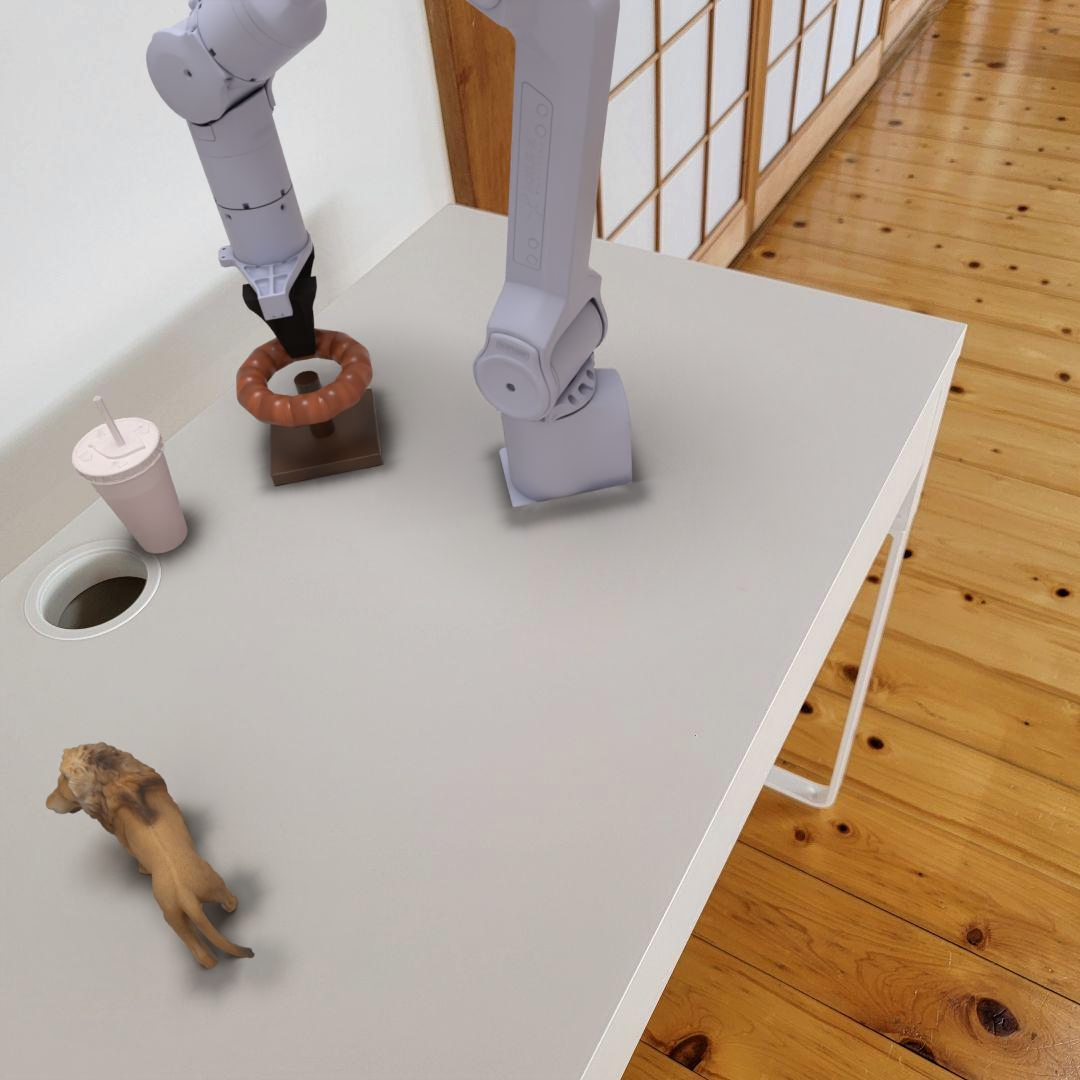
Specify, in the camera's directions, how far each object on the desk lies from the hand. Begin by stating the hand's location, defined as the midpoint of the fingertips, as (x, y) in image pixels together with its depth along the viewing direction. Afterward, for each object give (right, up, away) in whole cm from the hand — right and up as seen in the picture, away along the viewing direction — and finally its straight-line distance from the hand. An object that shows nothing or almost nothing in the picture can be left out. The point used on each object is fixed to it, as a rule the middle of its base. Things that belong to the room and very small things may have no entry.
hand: (302, 343), depth 83 cm
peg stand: (+1, -8, +2) cm, 8 cm away
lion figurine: (-1, -37, -24) cm, 44 cm away
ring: (+1, -3, -3) cm, 4 cm away
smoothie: (-10, -16, -4) cm, 19 cm away
